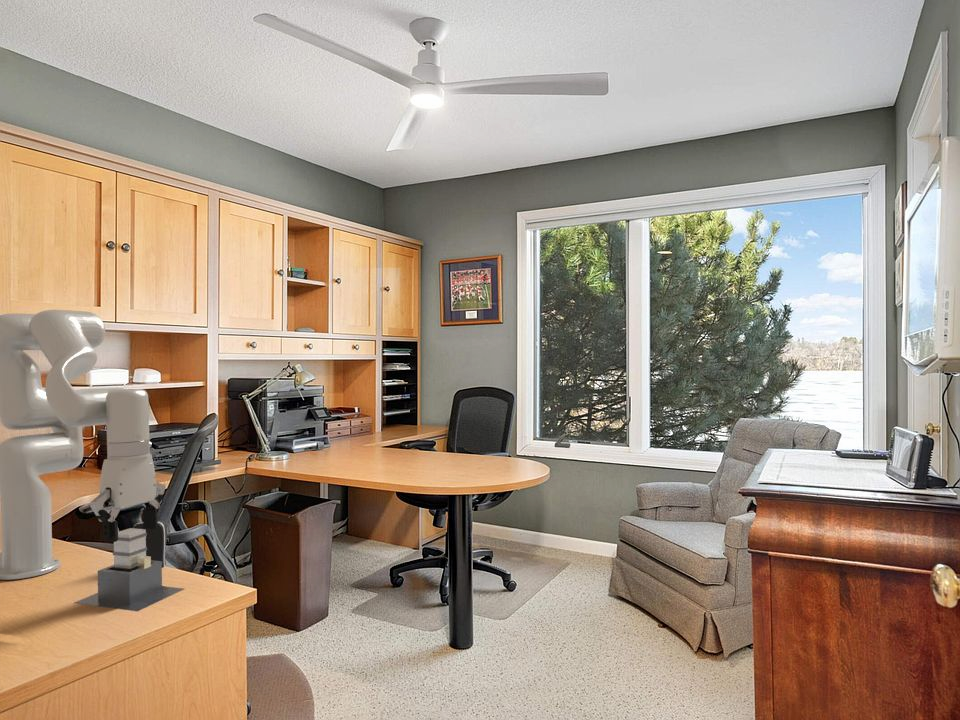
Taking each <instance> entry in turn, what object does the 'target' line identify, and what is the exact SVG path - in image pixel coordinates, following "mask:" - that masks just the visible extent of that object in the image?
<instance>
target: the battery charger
mask: <svg viewBox="0 0 960 720" xmlns="http://www.w3.org/2000/svg"><path fill="white" fill-rule="evenodd" d="M157 524H158V527H157V528H156V529H146V533H147V536H146V547H147V550H146V556H150V557H151V560H153V561H162V569H163V568H164V567H165V566H166V564H167V563H166V544H167V542H168V529H167V527H168V526H167V524H166V522H165V521H163V520H158V519H157ZM132 528H134V529H145V528H143V521H140V522H138V523H135V524H134V525H133V527H132Z"/></svg>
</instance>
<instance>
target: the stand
mask: <svg viewBox="0 0 960 720" xmlns="http://www.w3.org/2000/svg"><path fill="white" fill-rule="evenodd" d="M113 567H114V564H113V565H110V566H106V567H104V568H102V569H99V570H97V592H96V593H95V594H92V595H89V596H87V597H84V598H81V599H79V600H77V601H75V602H73V603H74V604H78V605H86V606H87V605H88V606H94V607H101V608H109V609H117V610H125V611H132V612H139V611H141V610H144V609H146V608H149V606H152V605H154V604H156V603H159V602H161V601H162V600H165V599H167V598H170V597H171V596H174V595H175V594H177V593H180V592H182V591H184V590H185V588H183V587H182V588H181V587H174V586H163V575H162V574H163V568H162V561H153V560H151V557H150V556H143V557H140V558H138V568H139V569H136V570H134V571H131V572H125V571H115V570H113Z"/></svg>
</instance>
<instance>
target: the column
mask: <svg viewBox="0 0 960 720" xmlns="http://www.w3.org/2000/svg"><path fill="white" fill-rule="evenodd" d="M146 536H147V533H146V529H134V528H133V527H132V528H131V527H130V528H127V529H123V530H120V531H118V541H116V542H113V551H112V556H113V565H114V567H113V570H115V571H125V572H131V571H134V570H136V569H139V568H138V558H140V557H143V556H146V550H147V547H146Z"/></svg>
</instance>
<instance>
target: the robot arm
mask: <svg viewBox="0 0 960 720" xmlns="http://www.w3.org/2000/svg"><path fill="white" fill-rule="evenodd" d="M105 337H106V327H105V324H104V322H103V320H102V319H101V318H100V316H99V315H97V314H96V313H93V312H91V311H85V310H83V311H82V310H67V309H46V310H42V311H40V312H38V313H36V314H35V313H19V312H18V313H13V312H12V313H4V314H0V422H1V424H2V427H4V428H5V429H7V430H11V431H15V430H16V431H22V430H23V431H25V430H37V429H47V428H48V429H49V428H51V429H52V432H50V433H37V434H27V435H26V434H25V435H19V436H15V437H9V438H8V439H5V440H3V441H2V442H0V522H1V524H0V525H1V526H0V527H1V528H0V533H1V534H0V535H1V537H0V538H1V552H0V580H2V581H3V580H4V581H8V580H9V581H11V580H21V579H28V578H32V577H37V576H41V575H45V574H47V573H48V574H49V573H50V572H53V571H55V570H57V569H58V568H59V567H60V566H61V560H60V559H58V558H56V557H53V533H52V531H53V530H52V529H53V528H52V527H53V525H52V523H53V520H52V517H53V516H52V493H51V491H50V488H49V487H48V486H47V485H46V483H44V481H43V480H42V479H41V478H40V476H41V475H45V474H46V475H47V474H52V473H57V472H66V471H71V470H73V469H76V468H77V467H79V466H80V464H81V463H82V461H83V458H84V452H85V451H84V450H85V449H84V437H83V429H82V428H83V427H91V426H92V427H93V426H101V425H103V426H105V425H106V450H107V451H106V453H107V454H106V455H107V458H106V459H104V460H103V463H102V467H101V472H100V481H99V482H100V483H99V493H98V495H97V496H96V497H95V498H94V499H92V500H91V501H90V502H89V507H90V508H91V510H92V512H93V515H94V516H95V518H98V521H99V522H100V523H102V524H101V525H102V526H101V527H102V528H101V530H102V541H103V542H107V543H114V542H116V541H118V532H119V526H118V523H119V522H118V521H117V520H115V519H116V518H117V517H118V515H119V513H120V511H121V510H125V509H129V508H132V507H136V506H140V505H142V506H143V507H144V508H143V509H142V522H143V528H145V529H156V528H157V527H158V524H157V520H158V509H159V508H160V507H161V504H160V503H162V500H163V499H164V496H163V495H164V494H165V490H166V488H167V486H166V485H165V484H163V483H160V482H158V481H157V480H156V470H155V465H154V460H153V454H151V447H152V442H151V440H150V416H149V415H150V414H149V413H150V412H149V411H150V410H149V409H150V408H149V394H148V392H147V391H146V390H145V389H143V388H121V387H115V388H114V387H111V388H110V387H109V388H88V389H86V388H84V389H83V388H82V389H75V388H74V387H73V386H72V385H71V383H70V382H71V381H73V380H75V379H78V378H81V377H82V376H84V375H85V374H87V373H89V372H91V370H92V369H93V368H94V367H95V365H96V364H97V360H98V355H97V352H96V350H95V349H94V348H97V347H98V346H100V345H101V344H102V343H103V342H104V340H105ZM25 351H42V353H43V354H44V356H45V358H46V360H47V361H48V362H49V364H50V366H51V368H50V370H49V371H48V374H47V375H46V379H45V387H43V385H42V376H41V375H42V373H41V369H40V367H39V365H38V364H37V362H36V361H35V360H34V359H33V358H32V357H31V356H30V355H29V354H28V353H26V352H25Z"/></svg>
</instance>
